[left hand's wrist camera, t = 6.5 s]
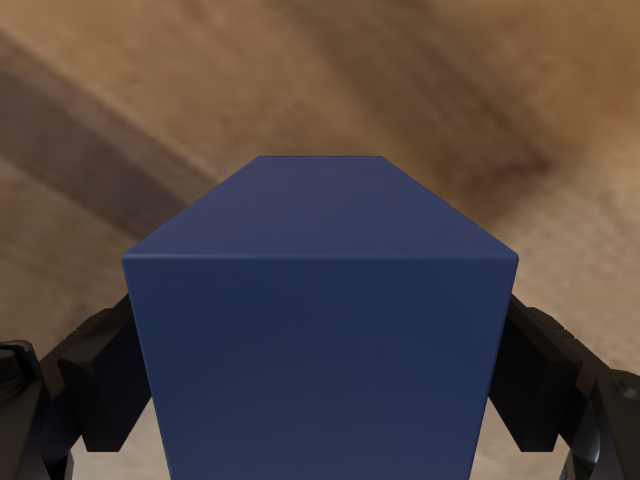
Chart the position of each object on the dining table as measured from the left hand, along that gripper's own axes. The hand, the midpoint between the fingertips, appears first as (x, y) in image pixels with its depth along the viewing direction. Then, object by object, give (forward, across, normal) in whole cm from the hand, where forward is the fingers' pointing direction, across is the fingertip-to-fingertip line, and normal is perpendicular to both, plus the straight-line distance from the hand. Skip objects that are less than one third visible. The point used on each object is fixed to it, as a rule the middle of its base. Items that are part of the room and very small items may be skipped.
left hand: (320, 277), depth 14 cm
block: (+3, 0, 0) cm, 3 cm away
